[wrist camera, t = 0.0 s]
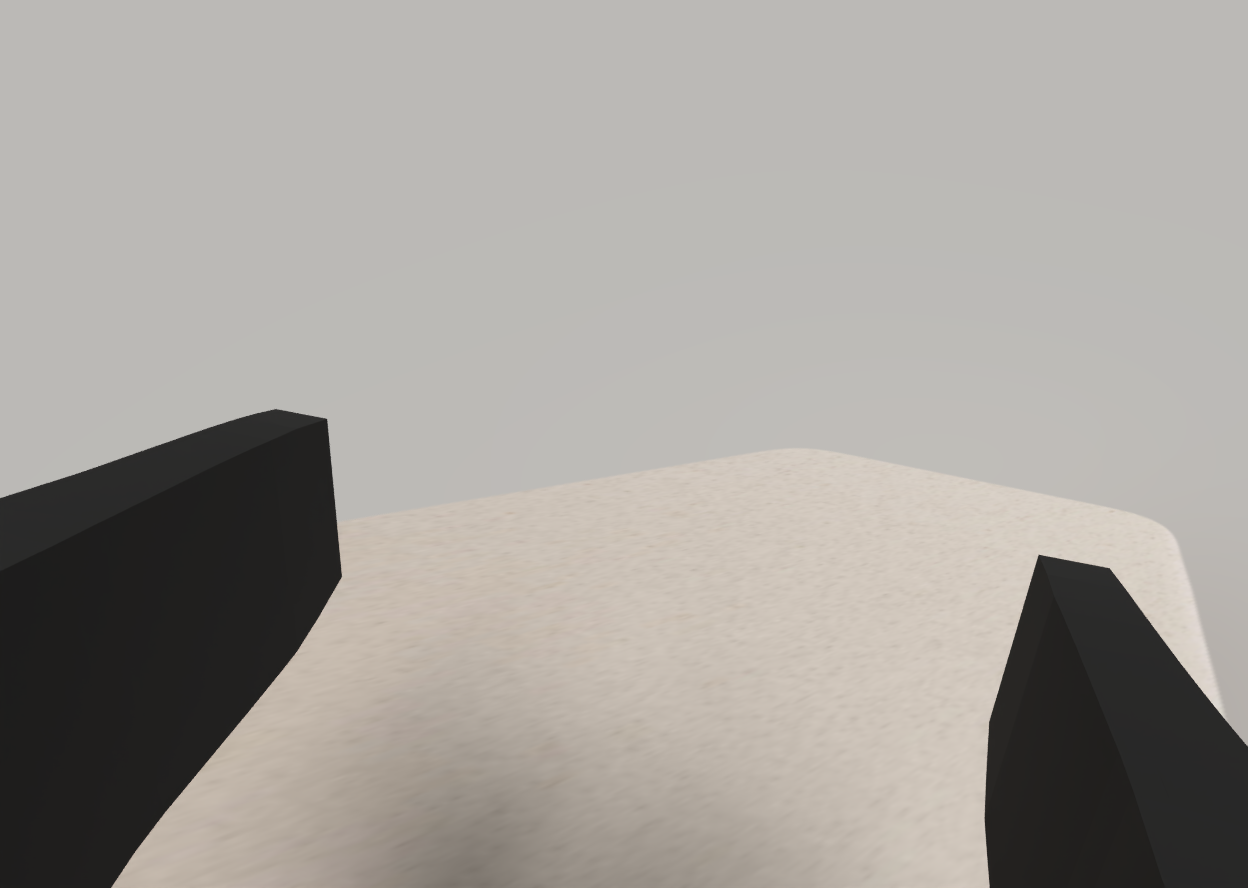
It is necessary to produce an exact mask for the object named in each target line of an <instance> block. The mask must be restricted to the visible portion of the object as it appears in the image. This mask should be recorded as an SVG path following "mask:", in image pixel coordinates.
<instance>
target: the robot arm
mask: <svg viewBox="0 0 1248 888" xmlns="http://www.w3.org/2000/svg"><path fill="white" fill-rule="evenodd" d="M341 577H342V573H341V562H340V551H339V541H338V530H337V520H336V509H335V499H334V488H333V477H332V466H331V456H330V446H329V435H328V424H327V419H325V418H319V417H314V416H309V415H303V414H298V413H293V412H288V411H283V410H277V409H275V410H270V411H266V412H261V413H257V414H253V415H250V416H246V417H242V418H239V419H236V420H233V421H229V422H226V423H223V424H220V425H217V426H214V427H210V428H207V429H204V430H202V431H199V432H196V433H193V434H190V435H187V436H184V437H181V438H178V439H176V440H173V441H170V442H167V443H164V444H161V445H158V446H155V447H153V448H150V449H147V450H144V451H141V452H138V453H135V454H133V455H130V456H127V457H124V458H121V459H118V460H116V461H113V462H110V463H107V464H104V465H101V466H98V467H96V468H93V469H90V470H87V471H84V472H81V473H78V474H75V475H72V476H69V477H65V478H63V479H60V480H56V481H53V482H50V483H47V484H43V485H40V486H37V487H34V488H31V489H28V490H25V491H22V492H19V493H15V494H12V495H9V496H6V497H3V498H0V888H111V887H112V886H113V884H114V883H115V881H116V880H117V878H118V877H119V875H120V874H121V872H122V871H123V869H124V868H125V866H126V865H127V863H128V862H129V860H130V859H131V857H132V856H133V854H134V853H135V851H136V850H137V849H138V847H139V846H140V845H141V843H142V842H143V841H144V839H145V838H146V837H147V835H148V834H149V833H150V832H151V830H152V829H153V828H154V826H155V825H156V824H157V822H158V821H159V820H160V818H161V817H162V816H163V814H164V813H165V812H166V811H167V809H168V808H169V807H170V806H171V805H172V803H173V802H174V801H175V800H176V799H177V797H178V796H179V795H180V794H181V793H182V791H183V790H184V789H185V788H186V787H187V785H188V784H189V783H190V782H191V781H192V779H193V778H194V777H195V776H196V774H197V773H198V772H199V771H200V770H201V768H202V767H203V766H204V765H205V764H206V762H207V761H208V760H209V759H210V758H211V756H212V755H213V754H214V753H215V752H216V750H217V749H218V748H219V747H220V746H221V744H222V743H223V742H224V741H225V739H226V738H227V737H228V736H229V735H230V733H231V732H232V731H233V730H234V729H235V727H236V726H237V725H238V724H239V723H240V721H241V720H242V719H243V718H244V717H245V715H246V714H247V713H248V712H249V711H250V709H251V708H252V707H253V706H254V704H255V703H256V702H257V701H258V700H259V698H260V697H261V696H262V695H263V693H264V692H265V691H266V690H267V688H268V687H269V686H270V685H271V683H272V682H273V681H274V680H275V679H276V677H277V676H278V675H279V674H280V672H281V671H282V670H283V669H284V667H285V666H286V665H287V664H288V662H289V661H290V660H291V658H292V657H293V656H294V655H295V653H296V652H297V651H298V649H299V647H300V646H301V644H302V643H303V641H304V640H305V638H306V636H307V635H308V633H309V632H310V630H311V628H312V627H313V625H314V624H315V622H316V621H317V619H318V617H319V616H320V614H321V612H322V610H323V609H324V607H325V605H326V603H327V602H328V600H329V598H330V596H331V595H332V593H333V591H334V590H335V588H336V586H337V584H338V583H339V581H340V579H341ZM985 831H986V846H987V858H988V871H989V884H990V888H1248V746H1247V745H1246V744H1245V743H1244V742H1243V741H1242V739H1241V738H1240V737H1239V736H1238V735H1237V734H1236V732H1235V731H1234V730H1233V729H1232V727H1231V726H1230V725H1229V724H1228V723H1227V721H1226V720H1225V719H1224V718H1223V717H1222V715H1221V714H1220V713H1219V712H1218V710H1217V709H1216V708H1215V707H1214V705H1213V704H1212V703H1211V702H1210V700H1209V699H1208V698H1207V697H1206V695H1205V694H1204V693H1203V692H1202V690H1201V689H1200V688H1199V687H1198V685H1197V684H1196V683H1195V681H1194V680H1193V679H1192V678H1191V676H1190V675H1189V674H1188V672H1187V671H1186V670H1185V668H1184V667H1183V666H1182V665H1181V663H1180V662H1179V661H1178V659H1177V658H1176V657H1175V655H1174V654H1173V653H1172V651H1171V650H1170V649H1169V647H1168V646H1167V645H1166V643H1165V642H1164V641H1163V639H1162V638H1161V637H1160V635H1159V634H1158V633H1157V631H1156V630H1155V629H1154V627H1153V626H1152V625H1151V623H1150V622H1149V621H1148V619H1147V618H1146V617H1145V615H1144V614H1143V612H1142V611H1141V610H1140V608H1139V607H1138V606H1137V604H1136V603H1135V602H1134V600H1133V599H1132V597H1131V596H1130V595H1129V593H1128V592H1127V591H1126V589H1125V588H1124V587H1123V585H1122V584H1121V583H1120V581H1119V580H1118V579H1117V577H1116V576H1115V575H1114V574H1113V572H1112V571H1111V570H1110V568H1105V567H1100V566H1095V565H1089V564H1084V563H1079V562H1074V561H1068V560H1063V559H1058V558H1053V557H1048V556H1042V555H1039V556H1038V559H1037V562H1036V566H1035V569H1034V572H1033V576H1032V579H1031V583H1030V586H1029V589H1028V593H1027V596H1026V600H1025V603H1024V606H1023V610H1022V613H1021V616H1020V620H1019V623H1018V627H1017V630H1016V633H1015V637H1014V640H1013V644H1012V647H1011V650H1010V654H1009V657H1008V660H1007V664H1006V667H1005V671H1004V674H1003V677H1002V681H1001V684H1000V688H999V691H998V694H997V698H996V701H995V704H994V708H993V711H992V715H991V718H990V721H989V737H988V754H987V772H986V796H985Z"/></svg>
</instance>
